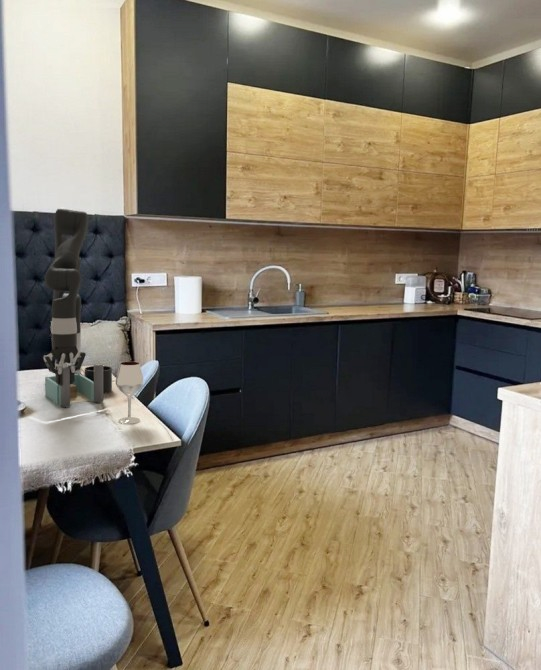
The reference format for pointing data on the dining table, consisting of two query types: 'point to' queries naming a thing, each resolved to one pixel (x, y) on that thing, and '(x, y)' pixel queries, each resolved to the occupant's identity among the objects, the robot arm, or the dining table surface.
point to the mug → (106, 377)
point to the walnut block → (73, 391)
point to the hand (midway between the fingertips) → (65, 384)
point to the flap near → (65, 388)
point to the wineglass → (129, 385)
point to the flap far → (97, 384)
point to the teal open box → (80, 382)
